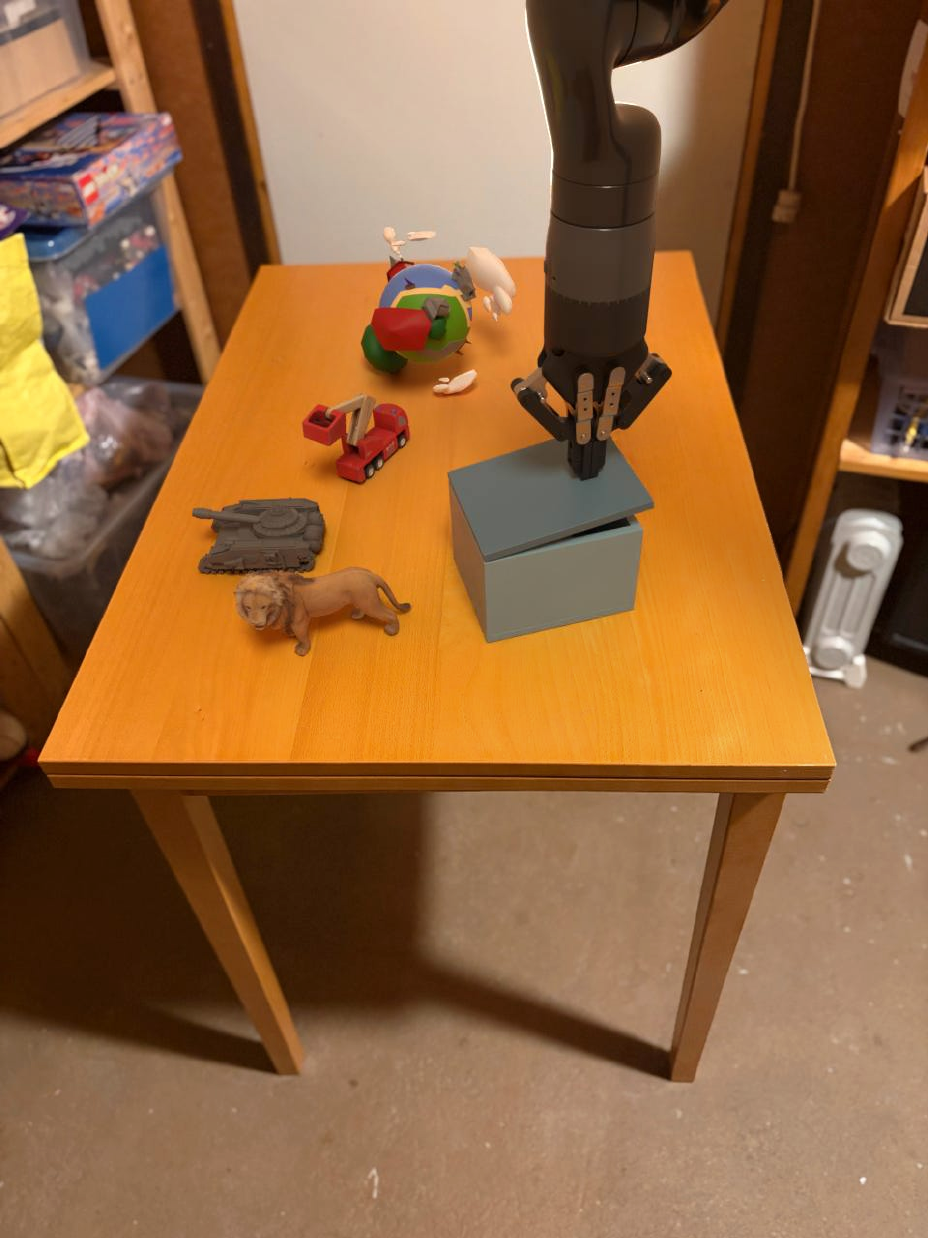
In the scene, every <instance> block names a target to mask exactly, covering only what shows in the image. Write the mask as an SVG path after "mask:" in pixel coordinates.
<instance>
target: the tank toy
mask: <svg viewBox="0 0 928 1238" xmlns="http://www.w3.org/2000/svg"><path fill="white" fill-rule="evenodd" d="M191 516H192V518H196V519H200V520H212V522H211V525H210V528H211V530H212V531H214V532H215V531H217V536H216V538H215V543H214V545H212V546H210V550H209V551H208V553H205V554H204V555H203V556H202V557H201V559H200V560H199V562H198V566H197V570H198V571H199V572H201V573H205V574H207V575H209V574H210V572H211V574H212V575H216V574H217V573H218V574H223V575H224V573H225V572H226V574H228V575H229V574H233V572H234V574H240V572H242V573H241V574H248V572H249V574H250V573H253V572H258V571H260V572H261V571H262V570H266V571H269V570H273V571H278V572H279V571H284V572H290V573H296V570H297V574H301V573H302V574H303V573H304V572H305V570H306V572H309V571H311V569H313V568H314V565H315V559H316V553H317V552H319V551H320V549H321V548H322V545H323V534H324V533H325V531H326V530H325V529H326V523H325V518H323V517H324V513H321V510H320V505H319V502H317V501H315V500H311V499H309V498H306V497H296V498H294V497H293V498H292V497H286V498H285V497H281V498H263V499H262V498H260V499H240V500H238V503H234V504H228V505H225V506H223V507H222V508H221V510H214V509H213V510H212V508H207V507H193V508H192V513H191Z"/></svg>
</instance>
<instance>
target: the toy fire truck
mask: <svg viewBox="0 0 928 1238" xmlns="http://www.w3.org/2000/svg"><path fill="white" fill-rule="evenodd" d="M376 403H377V399H376V398H375V397H372V396H370V395H367V394H363V393H361V392H358V393H357V394H356V396H354V397H352V398H349V399H347V400H345V401H343V402H340V403H337V404H335V405H334V406H331V407H329V406H327V405H324V404H321V403H317V404H316V405H315V407H313V409H312V410H311V411H310V412H309V413H308V414H307V416H306V417H305V418H304V420H302V422H301V427H302V433H303V434H302V435H303V438H304V439H307V440H310V441H313V442H316V443H318V444H322V445H324V446H327V447H331V446H332V445H333V444H335V443H336V442H338V441H339V440H340V439H341V447H342V452H343V453H342V455H340V456H339V457H338V458H337V459H336V460H335V467H336V471H337V475H338V477H342V478H343V479H344V478H345V479H348V480H350V481H354V482H356V483H363V482H365V480H366V478H368V479H371V478H373V476H374V474H375V470H380V469H382V467H383V466H384V461H387V460H388V459H389V458H391V456H392V455H393V454H394V453H395V452H397V450H398V449H399V448H400V449H401V448H404V447H405V445H406V443H407V441H408V439H410V437H411V435H410V434H411V431H410V426H409V418H408V414H407V412H406V411H405V410H404V408H402V407H401V406H399V405H398V404H394V403H390V402H389V403H387V402H386V403H379V404H378V405H376ZM350 413H351V417H350V421H349V427H348V431H347V415H348V414H350ZM372 416H373V425H374V426H373V427H372V428H371V429H369V430H368V427H369V424H370V422H371V421H370V420H371V418H372ZM367 430H368V431H367Z"/></svg>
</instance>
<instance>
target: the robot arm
mask: <svg viewBox="0 0 928 1238" xmlns="http://www.w3.org/2000/svg"><path fill="white" fill-rule="evenodd" d="M729 2H730V0H525V1H524V3H525V4H524V16H525V17H524V20H525V31H526V36H527V42H528V46H529V50H530V55H531V59H532V63H533V66H534V71H535V74H536V79H537V82H538V83H537V84H538V88H539V91H540V97H541V103H542V107H543V112H544V117H545V122H546V127H547V130H548V136H549V140H550V147H551V162H550V166H551V167H550V191H549V193H550V194H549V195H550V197H549V198H550V199H549V206H550V207H549V217H548V223H547V228H546V229H547V230H546V236H545V252H544V253H545V255H544V260H543V273H544V299H543V300H544V303H543V306H544V308H543V346H542V348H541V351H540V352H539V355H538V357H537V361H536V365H537V368H536V369H534V370H533V371H532V372H531V373H530V374H528V376H527V377H526V378H525V379H524V378H523V377H516V378H514V379H513V380H512V381H511V383H510V389H511V391H512V393H513V394H514V396H515V398H516V399H517V402H518V403H519V404H520V406H521V407H522V409H524V410H525V412H527V413H528V414H529V415H530V416H531V417H532V418H533V419H534V420H535V421H536V422H538V424H539V425H541V426H542V428H543V429H544V430H546V431H547V432H548V434H549V435H551V436H552V437H553V439H554V438H555V439H556V440H557V441H559V442H563V441H566V440H568V452H567V454H568V455H567V461H568V463H569V465H570V467H571V469H572V470H573V472H574V474H578V476H579V478H580V479H585V478H590V477H595V476H598V473H599V469H603V466H604V464H605V459H606V458H605V457H606V446H607V438H609V436H610V437H611V434H612V433H613V432H614V431H616V430H618V429H619V430H621V431H625V430H628V429H629V428H630V427H631V426H632V425H633V424H634V423H635V422H636V420H637V419H638V418H639V416H640V415H641V414H642V413H643V411H644V410H645V409H646V408H647V407H648V406H649V404H650V403H651V402H652V401H653V400H654V398H655V397H656V396H657V395H658V393H660V391H661V390H662V389H663V388H664V386H665V385H666V384H667V383H668V381H670V379H671V378H672V376H673V370H672V369H671V368H670V367H669V365H668V364H667V363H666V361H665V360H664V359H663V358H662V357H661V356H660V355H659V354H658V353H657V352H651V353H650V352H649V350H650V349H649V345H648V344H647V342H646V338H645V336H646V334H647V328H648V316H649V311H650V309H649V308H650V300H651V289H652V281H653V270H654V261H655V253H656V205H657V195H658V186H659V185H658V184H659V176H660V175H659V174H660V166H661V158H662V127H661V124H660V121H659V120H658V117H657V116H656V115H655V114H654V113H653V112H652V111H651V110H650V109H648V108H646V107H644V106H641V105H638V104H635V103H631V102H623V101H616V100H615V96H614V93H613V88H612V87H613V85H612V77H613V71H614V70H616V69H621V68H624V67H625V68H626V67H630V66H633V65H637V64H640V63H641V64H642V63H644V62H649V61H653V60H656V59H659V58H661V57H664V56H667V55H669V54H671V53H672V52H675V51H677V50H678V49H680V48H681V47H683V46H685V45H686V44H688V43H689V42H690V41H692V40H693V39H694V38H696V37H697V36H699V34H700V33H702V32H703V31H704V30H705V29H706V28H707V27H708V26H709V25H710V23H711V22H712V21H713V20H714V19H715V18H716V17H717V16H718V15H719V13H720V12H721V11H722V10H723V9H724V7H725V6H726V5H727V4H728V3H729ZM547 384H549V385H550V386H551V387H552V388H553V389H554V391H555V392H556V393H557V394H558V395H559V396H560V398H562V400H563V402H564V405H565V416H561V415H560V414H559V413H558V412H557V411H556V410H555V409H554V408H553V407H552V406H551V405H550V403H548V402H547V398H548V391H547V389H546V385H547Z"/></svg>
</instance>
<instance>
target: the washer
mask: <svg viewBox="0 0 928 1238" xmlns="http://www.w3.org/2000/svg"><path fill="white" fill-rule="evenodd" d="M447 484H448V494H449V495H448V496H449V497H448V498H449V508H450V509H449V511H450V524H451V538H452V552H453V553H452V554H453V560H454V563H455V565H456V568H457V570H458V573H459V575H460V577H461V580H462V583H463V585H464V588H465V591H466V593H467V595H468V599H469V600H470V603H471V605H472V608H473V610H474V613H475V615H476V618H477V620H478V623H479V625H480V628H481V630H482V632H483V635H484V638H485V641H486V643H487V644H490V643H494V642H499V641H502V640H507V639H512V638H515V637H519V636H524V635H529V634H533V633H538V632H543V631H547V630H550V629H554V628H559V627H563V626H567V625H568V626H569V625H572V624H576V623H580V622H581V623H582V622H585V621H589V620H595V619H598V618H603V617H607V616H612V615H615V614H621V613H624V612H629V611H633V610H635V605H636V604H635V602H636V595H637V587H638V579H639V571H640V561H641V554H642V545H643V539H644V538H643V537H644V528H643V526H642V525H641V523H640V522H639V520H638V519H637V516H636V514H634V515H631V516H628V517H625V518H622V519H619V520H616V521H612V522H609V523H606V524H603V525H600V526H597V527H594V528H591V529H588V530H585V531H582V532H578V533H575V534H572V538H571V539H566V540H561V541H557V542H552V543H547V544H543V545H538V546H535V547H532V548H529V549H526V550H523V551H520V552H517V553H514V554H510V555H507V556H504V557H501V558H498V559H495V560H492V561H489V562H486V563H485V562H484V559H483V557H482V555H481V552H480V550H479V548H478V546H477V543H476V541H475V539H474V536H473V534H472V532H471V529H470V527H469V525H468V522H467V520H466V518H465V516H464V513H463V511H462V509H461V506H460V504H459V502H458V499H457V497H456V495H455V493H454V490H453V488H452V486H451V483H450V481H449V480H448V483H447Z"/></svg>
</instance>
